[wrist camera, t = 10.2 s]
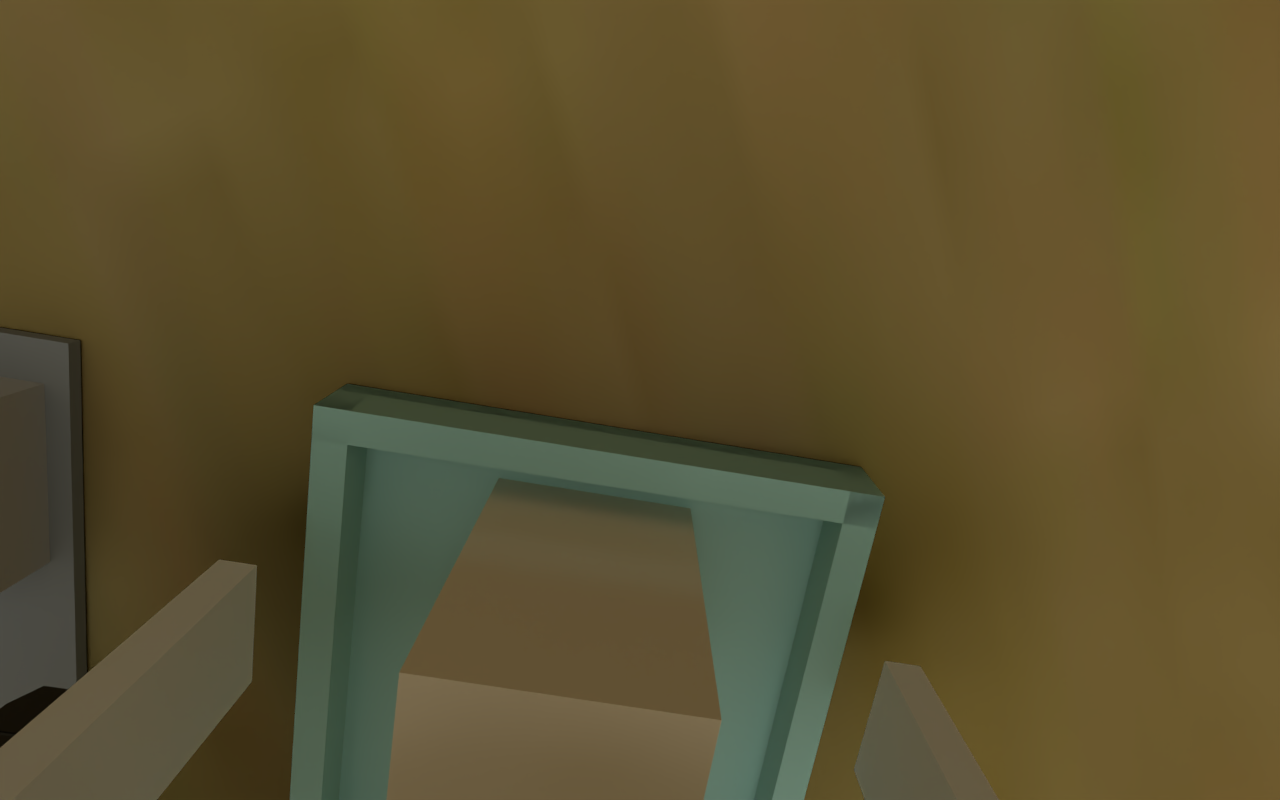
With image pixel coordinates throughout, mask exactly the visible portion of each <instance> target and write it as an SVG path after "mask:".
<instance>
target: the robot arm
mask: <svg viewBox="0 0 1280 800" xmlns="http://www.w3.org/2000/svg"><path fill="white" fill-rule="evenodd" d="M256 578H257V565H252V564H246V563H239V562H233V561H226V560H220V559H219V560H218V561H217V562H216V563H214V564H213V565H212V566H211V567H210V568H209V569H207V570H206V571H205V572H204V573H203V574H202V575H200V576H199V577H198V578H197V579H196V580H195V581H193V582H192V583H191V584H190V585H189V586H188V587H187V588H185V589H184V590H183V591H182V592H181V593H180V594H178V595H177V596H176V597H175V598H174V599H173V600H171V601H170V602H169V603H168V604H167V605H166V606H164V607H163V608H162V609H161V610H160V611H159V612H157V613H156V614H155V615H154V616H153V617H152V618H150V619H149V620H148V621H147V622H146V623H145V624H144V625H142V626H141V627H140V628H139V629H138V630H137V631H135V632H134V633H133V634H132V635H131V636H130V637H128V638H127V639H126V640H125V641H124V642H123V643H121V644H120V645H119V646H118V647H117V648H116V649H114V650H113V651H112V652H111V653H110V654H109V655H107V656H106V657H105V658H104V659H103V660H102V661H100V662H99V663H98V664H97V665H96V666H95V667H94V668H92V669H91V670H90V671H89V672H88V673H87V674H85V675H84V676H83V677H82V678H81V679H80V680H78V681H77V682H76V683H75V684H74V685H73V686H71V687H70V688H69V689H63V688H57V687H50V686H42V687H40V688H38V689H36V690H34V691H32V692H30V693H28V694H26V695H23V696H21V697H19V698H17V699H15V700H13V701H11V702H9V703H7V704H5V705H4V706H3V707H1V708H0V800H157V799H158V798H159V797H160V795H161V794H162V793H163V792H164V790H165V789H166V788H167V787H168V785H169V784H170V783H171V782H172V780H173V779H174V778H175V777H176V776H177V774H178V773H179V772H180V771H181V769H182V768H183V767H184V766H185V764H186V763H187V762H188V761H189V759H190V758H191V757H192V756H193V754H194V753H195V752H196V751H197V749H198V748H199V747H200V746H201V744H202V743H203V742H204V741H205V739H206V738H207V737H208V736H209V734H210V733H211V732H212V731H213V729H214V728H215V727H216V726H217V724H218V723H219V722H220V721H221V720H222V718H223V717H224V716H225V715H226V713H227V712H228V711H229V710H230V708H231V707H232V706H233V705H234V703H235V702H236V701H237V700H238V698H239V697H240V696H241V695H242V693H243V692H244V691H245V690H246V688H247V687H248V686H249V685H250V683H251V682H252V669H253V646H254V623H255V600H256ZM854 771H855V774H856V777H857V780H858V782H859V785H860V788H861V791H862V793H863V796H864V799H865V800H999V799H998V798H997V796H996V794H995V793H994V791H993V789H992V787H991V786H990V784H989V782H988V781H987V779H986V777H985V775H984V774H983V772H982V770H981V769H980V767H979V765H978V764H977V762H976V760H975V758H974V757H973V755H972V753H971V752H970V750H969V748H968V747H967V745H966V743H965V741H964V740H963V738H962V736H961V735H960V733H959V731H958V729H957V728H956V726H955V724H954V723H953V721H952V719H951V718H950V716H949V714H948V712H947V711H946V709H945V707H944V706H943V704H942V702H941V700H940V699H939V697H938V695H937V694H936V692H935V690H934V689H933V687H932V685H931V683H930V682H929V680H928V678H927V677H926V675H925V673H924V672H923V670H922V668H921V666H916V665H909V664H903V663H896V662H890V661H885V662H884V666H883V669H882V673H881V676H880V680H879V683H878V687H877V690H876V694H875V697H874V701H873V704H872V708H871V712H870V715H869V719H868V722H867V726H866V729H865V733H864V736H863V740H862V743H861V747H860V750H859V754H858V757H857V761H856V764H855V768H854Z"/></svg>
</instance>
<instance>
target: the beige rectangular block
mask: <svg viewBox="0 0 1280 800" xmlns="http://www.w3.org/2000/svg"><path fill="white" fill-rule="evenodd" d="M721 721H722V719H721V712H720V706H719V699H718V692H717V685H716V679H715V672H714V665H713V658H712V651H711V645H710V638H709V631H708V624H707V617H706V611H705V604H704V597H703V590H702V583H701V577H700V570H699V563H698V556H697V550H696V543H695V536H694V529H693V522H692V516H691V509H690V508H685V507H679V506H672V505H666V504H660V503H654V502H647V501H641V500H635V499H628V498H622V497H616V496H609V495H603V494H597V493H591V492H584V491H578V490H572V489H565V488H559V487H553V486H546V485H540V484H534V483H528V482H521V481H515V480H509V479H502V478H499V479H498V481H497V483H496V484H495V486H494V488H493V490H492V492H491V494H490V496H489V498H488V500H487V502H486V504H485V506H484V508H483V510H482V512H481V514H480V516H479V518H478V520H477V522H476V523H475V525H474V527H473V529H472V531H471V533H470V535H469V537H468V539H467V541H466V543H465V545H464V547H463V549H462V551H461V553H460V555H459V557H458V559H457V561H456V563H455V564H454V566H453V568H452V570H451V572H450V574H449V576H448V578H447V580H446V582H445V584H444V586H443V588H442V590H441V592H440V594H439V596H438V598H437V600H436V602H435V604H434V605H433V607H432V609H431V611H430V613H429V615H428V617H427V619H426V621H425V623H424V625H423V627H422V629H421V631H420V633H419V635H418V637H417V639H416V641H415V643H414V645H413V646H412V648H411V650H410V652H409V654H408V656H407V658H406V660H405V662H404V664H403V666H402V668H401V670H400V672H399V679H398V689H397V699H396V709H395V719H394V729H393V739H392V749H391V759H390V769H389V779H388V789H387V799H386V800H704V796H705V791H706V787H707V783H708V778H709V774H710V769H711V765H712V761H713V756H714V752H715V747H716V743H717V739H718V734H719V730H720V725H721Z"/></svg>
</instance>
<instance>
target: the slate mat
mask: <svg viewBox="0 0 1280 800" xmlns="http://www.w3.org/2000/svg"><path fill="white" fill-rule="evenodd" d="M0 377H6V378H13V379H19V380H25V381H31V382H38V383H44V391H45V421H46V452H47V482H48V513H49V543H50V562H49V563H48V564H46V565H44V566H43V567H41V568H40V569H38V570H36V571H35V572H33V573H32V574H30V575H28V576H27V577H25V578H23V579H22V580H20V581H19V582H17V583H15V584H14V585H12V586H11V587H9V588H7V589H6V590H4V591H2V592H1V593H0V708H1V707H3V706H4V705H5V704H7V703H9V702H11V701H13V700H15V699H17V698H19V697H21V696H23V695H26V694H28V693H30V692H32V691H34V690H36V689H38V688H40V687H42V686H50V687H57V688H63V689H69V688H70V687H71V686H73V685H74V684H75V683H76V682H77V681H78V680H80V679H81V678H82V677H83V676H84V675H85V674H87V654H86V604H85V554H84V504H83V454H82V405H81V355H80V340H75V339H68V338H62V337H56V336H50V335H44V334H38V333H31V332H25V331H19V330H13V329H7V328H1V327H0Z"/></svg>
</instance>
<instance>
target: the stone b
mask: <svg viewBox="0 0 1280 800" xmlns="http://www.w3.org/2000/svg"><path fill="white" fill-rule="evenodd" d="M49 562H50V543H49V513H48V482H47V452H46V421H45V391H44V383H38V382H31V381H25V380H19V379H13V378H6V377H0V593H1V592H2V591H4V590H6V589H7V588H9V587H11V586H12V585H14V584H15V583H17V582H19V581H20V580H22V579H23V578H25V577H27V576H28V575H30V574H32V573H33V572H35V571H36V570H38V569H40V568H41V567H43V566H44V565H46V564H48V563H49Z"/></svg>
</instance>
